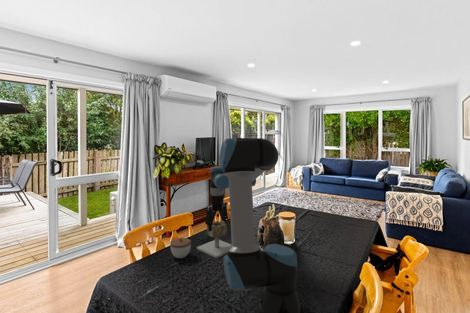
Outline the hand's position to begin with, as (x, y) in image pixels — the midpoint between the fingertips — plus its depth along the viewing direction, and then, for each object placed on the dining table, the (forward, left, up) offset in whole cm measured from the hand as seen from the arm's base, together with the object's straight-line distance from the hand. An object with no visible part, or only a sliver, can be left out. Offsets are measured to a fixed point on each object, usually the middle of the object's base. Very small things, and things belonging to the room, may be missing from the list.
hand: (216, 234), depth 148 cm
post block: (0, 0, -9) cm, 9 cm away
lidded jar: (-19, +8, -9) cm, 22 cm away
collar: (0, 0, 0) cm, 0 cm away
